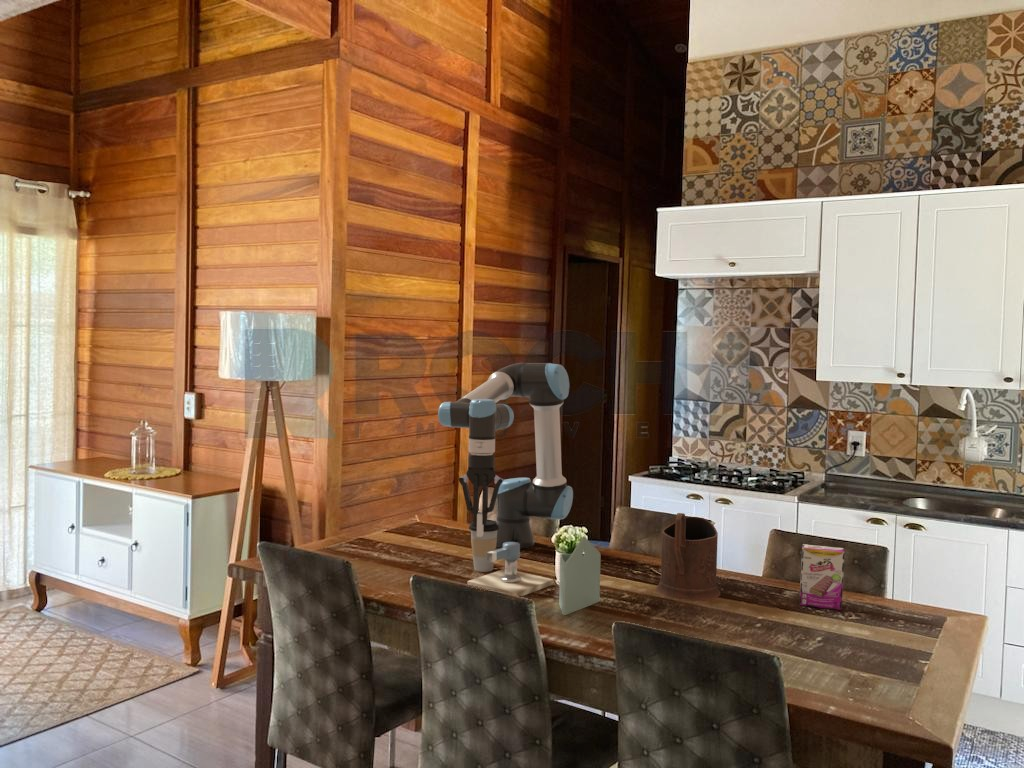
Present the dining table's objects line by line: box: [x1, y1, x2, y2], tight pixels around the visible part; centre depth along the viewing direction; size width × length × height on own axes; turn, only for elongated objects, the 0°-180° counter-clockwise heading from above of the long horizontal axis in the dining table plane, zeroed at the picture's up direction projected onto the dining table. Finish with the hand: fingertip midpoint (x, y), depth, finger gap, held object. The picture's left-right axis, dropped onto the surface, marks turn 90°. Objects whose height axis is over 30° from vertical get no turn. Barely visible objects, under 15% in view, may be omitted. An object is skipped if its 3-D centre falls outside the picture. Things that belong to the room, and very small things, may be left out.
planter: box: [558, 535, 601, 616], centre depth 235 cm, size 16×8×20 cm, turn 140°
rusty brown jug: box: [655, 512, 722, 602], centre depth 248 cm, size 18×24×25 cm
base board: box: [466, 568, 554, 597], centre depth 254 cm, size 18×18×2 cm
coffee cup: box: [468, 519, 499, 573], centre depth 270 cm, size 9×9×15 cm
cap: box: [487, 542, 521, 563], centre depth 250 cm, size 12×5×4 cm, turn 142°
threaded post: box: [500, 559, 521, 583], centre depth 253 cm, size 6×6×6 cm
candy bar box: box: [799, 543, 845, 611], centre depth 239 cm, size 11×5×16 cm, turn 71°
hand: (479, 535), depth 247 cm, fingers closed
